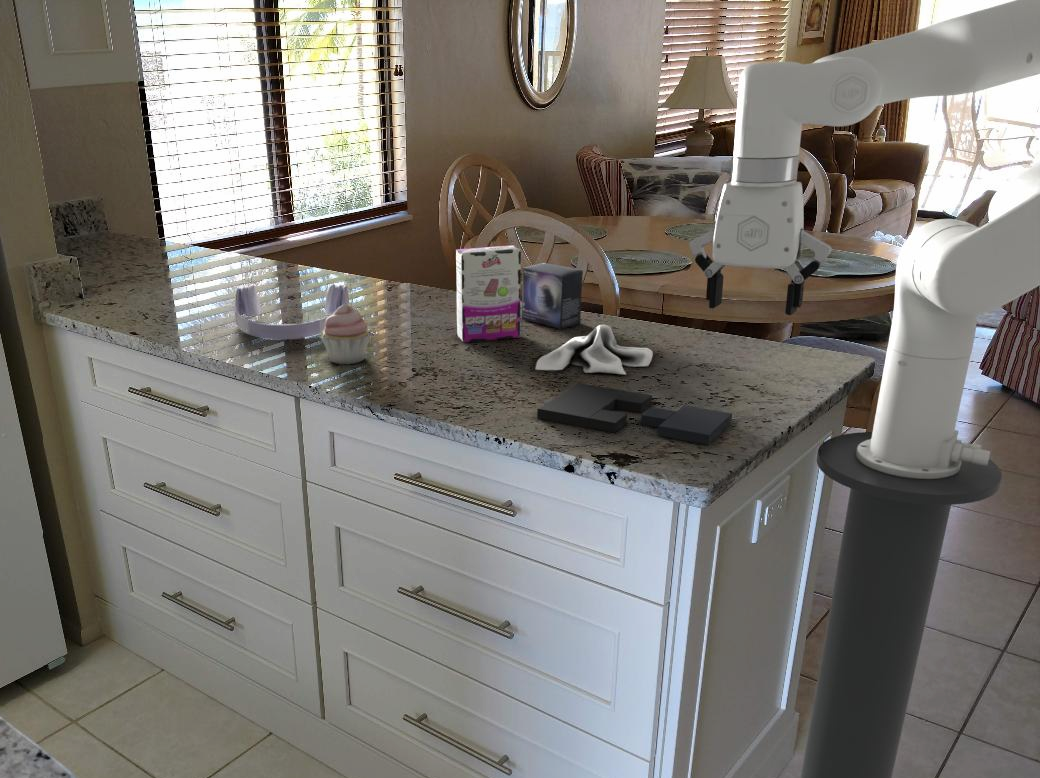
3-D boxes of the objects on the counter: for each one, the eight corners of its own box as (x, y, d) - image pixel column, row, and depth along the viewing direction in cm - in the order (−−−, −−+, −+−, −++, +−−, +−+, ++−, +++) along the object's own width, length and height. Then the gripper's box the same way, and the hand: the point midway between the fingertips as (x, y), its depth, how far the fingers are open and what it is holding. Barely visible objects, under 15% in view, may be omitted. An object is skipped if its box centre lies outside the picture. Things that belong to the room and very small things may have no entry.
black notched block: (651, 404, 148) (652, 395, 148) (614, 433, 138) (615, 422, 137) (577, 391, 155) (578, 382, 154) (536, 418, 144) (537, 408, 143)
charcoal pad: (731, 423, 140) (732, 413, 140) (708, 445, 133) (709, 434, 132) (658, 410, 146) (659, 400, 145) (632, 431, 138) (633, 420, 138)
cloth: (589, 337, 183) (591, 304, 181) (676, 357, 170) (679, 321, 168) (509, 363, 170) (509, 327, 167) (597, 386, 157) (599, 348, 154)
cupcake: (335, 370, 168) (332, 312, 164) (311, 358, 175) (308, 302, 171) (383, 361, 172) (381, 304, 168) (358, 349, 179) (355, 294, 175)
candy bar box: (512, 331, 188) (514, 244, 182) (520, 338, 184) (522, 249, 177) (455, 336, 186) (455, 248, 180) (461, 343, 182) (462, 252, 175)
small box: (518, 319, 196) (520, 266, 192) (541, 314, 200) (543, 261, 196) (559, 329, 189) (561, 274, 185) (581, 323, 193) (584, 269, 188)
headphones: (243, 313, 206) (224, 345, 188) (239, 279, 202) (220, 309, 185) (350, 312, 205) (341, 344, 187) (348, 278, 201) (339, 308, 184)
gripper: (684, 174, 123) (676, 310, 130) (832, 176, 114) (815, 322, 120) (704, 167, 129) (695, 297, 135) (846, 168, 119) (830, 308, 126)
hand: (752, 309), depth 128 cm, fingers open, 9 cm apart
